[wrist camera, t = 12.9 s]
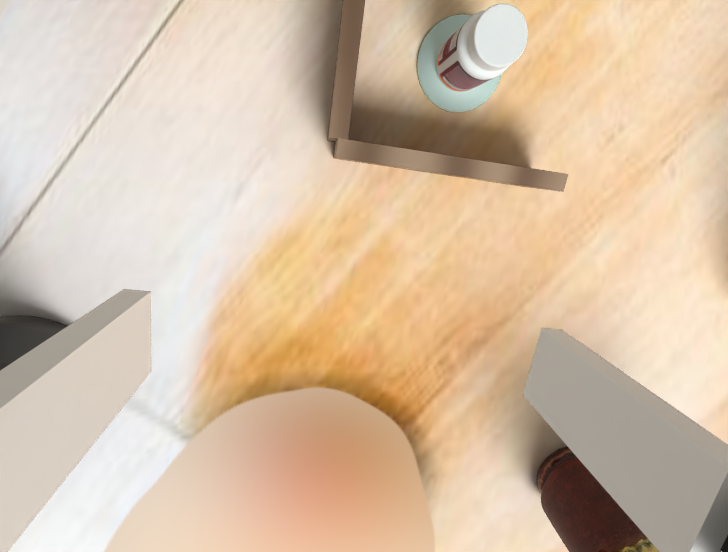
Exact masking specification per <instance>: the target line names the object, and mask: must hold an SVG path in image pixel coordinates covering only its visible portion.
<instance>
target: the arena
mask: <svg viewBox="0 0 728 552" xmlns="http://www.w3.org/2000/svg"><path fill="white" fill-rule="evenodd" d="M364 5H365V0H343V3H342V12H341V22H340V31H339V40H338V49H337V58H336V67H335V76H334V85H333V94H332V104H331V113H330V122H329V131H328V140H327V141H334V142H335V150H334V158H335V159H342V160H348V161H355V162H362V163H368V164H375V165H382V166H389V167H395V168H402V169H409V170H416V171H422V172H429V173H436V174H442V175H449V176H456V177H463V178H469V179H476V180H483V181H489V182H496V183H503V184H510V185H516V186H523V187H530V188H538V189H546V190H554V191H562V192H563V191H564V188H565V184H566V180H567V177H568V174H564V173H558V172H551V171H545V170H539V169H532V168H526V167H519V166H513V165H507V164H500V163H494V162H488V161H481V160H475V159H468V158H462V157H456V156H449V155H443V154H437V153H430V152H424V151H417V150H411V149H405V148H398V147H392V146H385V145H379V144H373V143H366V142H360V141H354V140H348V135H349V127H350V119H351V111H352V103H353V95H354V87H355V78H356V70H357V62H358V54H359V46H360V38H361V30H362V22H363V13H364Z"/></svg>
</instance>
